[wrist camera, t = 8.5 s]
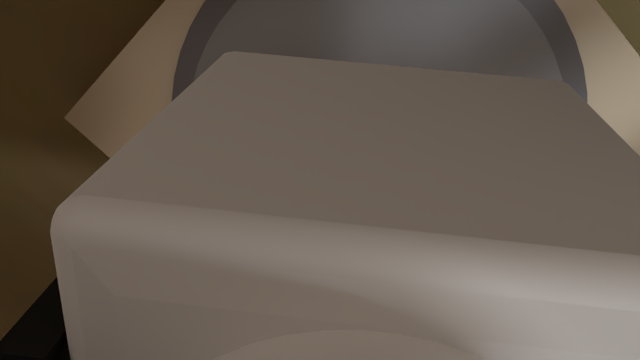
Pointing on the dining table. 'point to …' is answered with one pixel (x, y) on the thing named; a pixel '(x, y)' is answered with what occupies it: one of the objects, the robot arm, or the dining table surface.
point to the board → (367, 51)
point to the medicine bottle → (357, 222)
